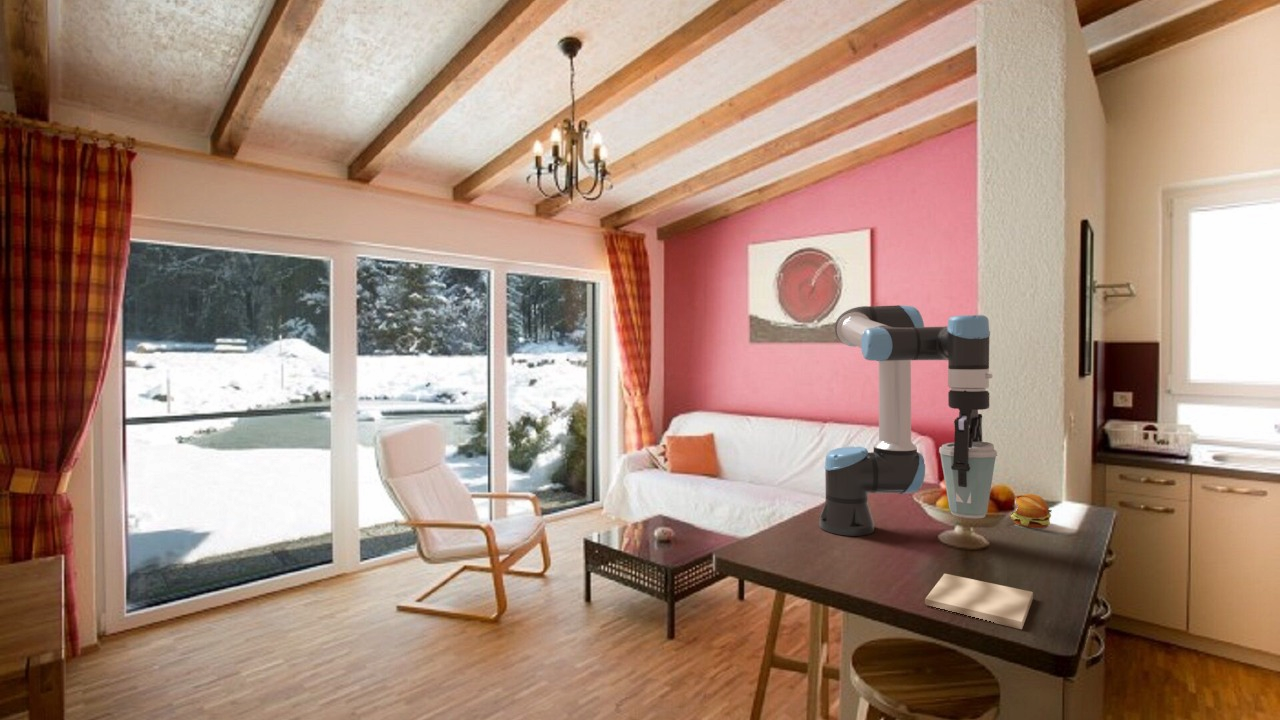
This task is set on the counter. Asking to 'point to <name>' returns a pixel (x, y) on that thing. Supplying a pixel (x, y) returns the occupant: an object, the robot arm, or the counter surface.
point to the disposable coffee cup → (969, 479)
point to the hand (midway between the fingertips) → (968, 497)
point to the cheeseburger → (1031, 512)
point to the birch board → (981, 600)
